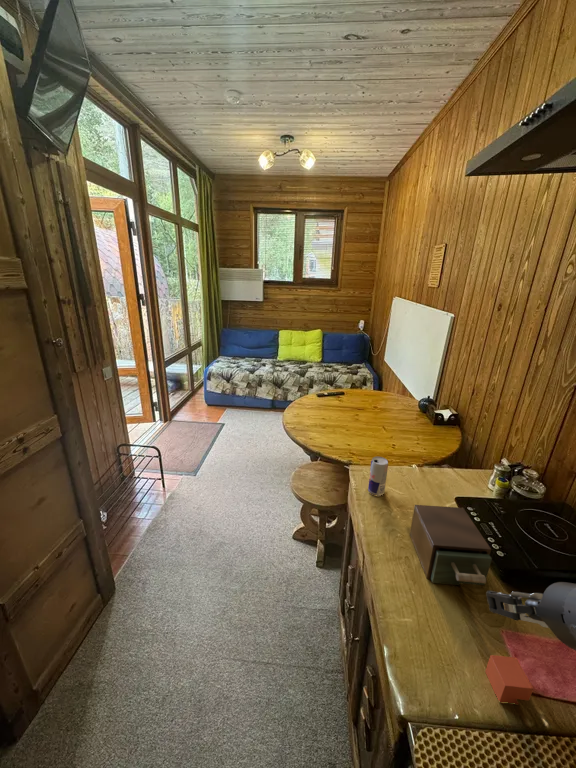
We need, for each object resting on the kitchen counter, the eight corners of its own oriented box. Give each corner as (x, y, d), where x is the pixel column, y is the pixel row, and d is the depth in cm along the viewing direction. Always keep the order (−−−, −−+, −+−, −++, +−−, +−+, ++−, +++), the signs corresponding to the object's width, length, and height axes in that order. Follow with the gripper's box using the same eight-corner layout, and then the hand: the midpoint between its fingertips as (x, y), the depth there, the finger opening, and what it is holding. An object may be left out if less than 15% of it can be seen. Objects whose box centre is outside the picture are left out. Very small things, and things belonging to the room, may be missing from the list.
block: (510, 674, 55) (516, 657, 53) (526, 706, 51) (533, 688, 49) (485, 671, 55) (490, 654, 54) (499, 703, 51) (505, 685, 50)
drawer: (494, 605, 66) (503, 575, 63) (439, 600, 67) (446, 571, 64) (459, 543, 82) (465, 517, 79) (415, 540, 82) (419, 514, 80)
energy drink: (366, 486, 106) (369, 455, 102) (382, 487, 106) (385, 456, 102) (369, 496, 101) (373, 464, 97) (386, 497, 100) (390, 465, 97)
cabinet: (482, 583, 72) (491, 549, 69) (426, 578, 72) (433, 545, 69) (456, 538, 85) (463, 507, 81) (409, 534, 85) (414, 504, 82)
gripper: (650, 590, 38) (554, 577, 52) (528, 580, 39) (467, 570, 53) (682, 671, 34) (570, 633, 49) (547, 657, 35) (476, 624, 50)
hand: (516, 600), depth 51 cm, fingers open, 8 cm apart
